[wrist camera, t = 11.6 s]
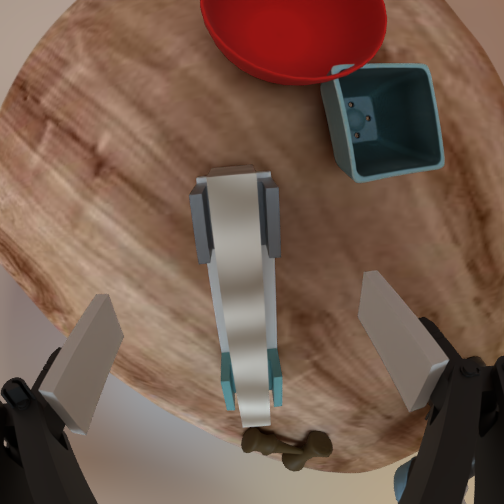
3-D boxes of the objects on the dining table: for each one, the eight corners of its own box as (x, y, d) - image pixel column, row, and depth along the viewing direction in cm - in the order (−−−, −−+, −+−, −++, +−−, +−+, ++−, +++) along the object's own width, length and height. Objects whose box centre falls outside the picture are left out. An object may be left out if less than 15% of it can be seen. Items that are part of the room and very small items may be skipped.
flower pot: (301, 83, 24) (329, 64, 16) (380, 76, 24) (429, 63, 16) (320, 168, 28) (354, 185, 20) (395, 154, 27) (445, 168, 19)
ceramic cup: (322, -39, 18) (352, -84, 9) (350, 94, 25) (401, 84, 16) (199, -34, 18) (188, -85, 9) (219, 104, 25) (211, 91, 16)
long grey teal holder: (276, 375, 39) (281, 408, 34) (227, 379, 39) (227, 412, 34) (269, 170, 28) (278, 181, 22) (197, 176, 28) (188, 188, 22)
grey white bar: (267, 396, 37) (270, 425, 32) (241, 398, 37) (242, 427, 32) (252, 164, 25) (256, 173, 20) (211, 168, 24) (206, 177, 20)
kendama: (261, 414, 44) (342, 434, 49) (233, 435, 47) (312, 453, 52) (262, 442, 39) (348, 457, 43) (232, 461, 42) (315, 475, 47)
